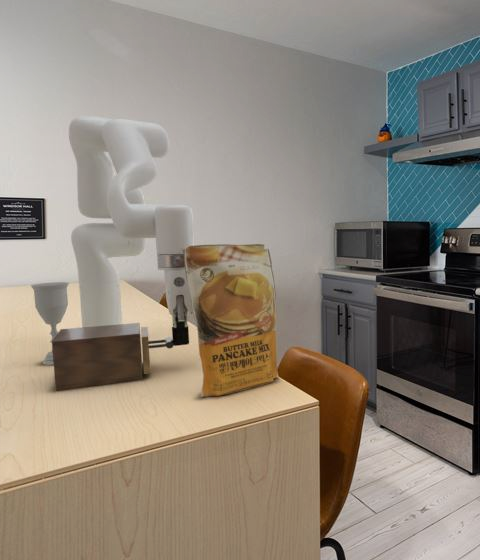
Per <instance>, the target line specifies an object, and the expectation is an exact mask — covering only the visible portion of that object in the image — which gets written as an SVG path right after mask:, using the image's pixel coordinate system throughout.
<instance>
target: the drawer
mask: <svg viewBox="0 0 480 560" xmlns="http://www.w3.org/2000/svg"><path fill="white" fill-rule="evenodd" d="M140 333H141V352H142V369H143V375H148V374H151V360H150V359H151V357H150V349H158V348H167V349H172V348H173V347H174V344H173V338H172V336H166V337H165V338H164V339H155V340H153V339H152V340H149V329H148V326H140Z"/></svg>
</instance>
